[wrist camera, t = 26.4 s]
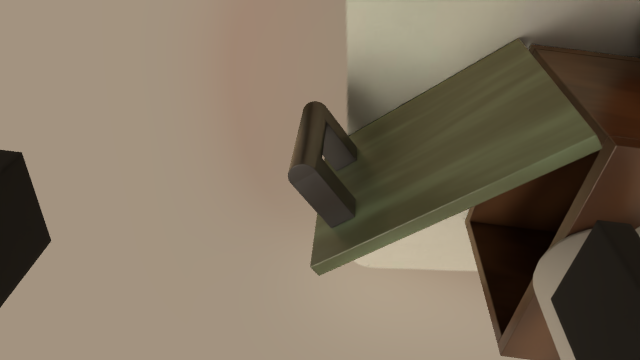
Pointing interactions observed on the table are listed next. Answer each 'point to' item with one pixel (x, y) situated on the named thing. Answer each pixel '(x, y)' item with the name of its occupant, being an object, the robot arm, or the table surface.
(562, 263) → the cup
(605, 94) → the cupboard
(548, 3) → the table surface
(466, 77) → the cupboard door
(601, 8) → the table surface
